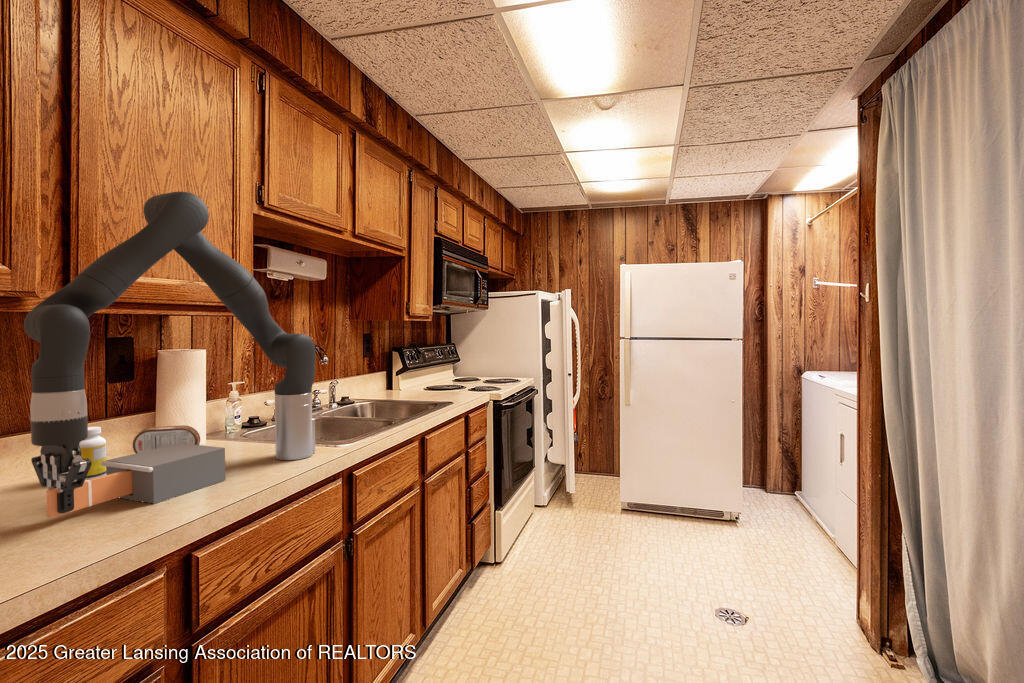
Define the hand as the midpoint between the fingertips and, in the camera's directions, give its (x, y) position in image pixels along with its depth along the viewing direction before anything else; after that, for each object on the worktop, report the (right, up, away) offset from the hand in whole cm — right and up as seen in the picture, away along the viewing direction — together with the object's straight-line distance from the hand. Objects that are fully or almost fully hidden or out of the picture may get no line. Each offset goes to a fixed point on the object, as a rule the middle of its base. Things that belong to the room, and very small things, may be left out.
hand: (62, 510), depth 89 cm
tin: (-12, -1, +44) cm, 46 cm away
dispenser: (+7, -1, +18) cm, 19 cm away
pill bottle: (-17, -1, +26) cm, 31 cm away
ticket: (+2, 0, +7) cm, 7 cm away
